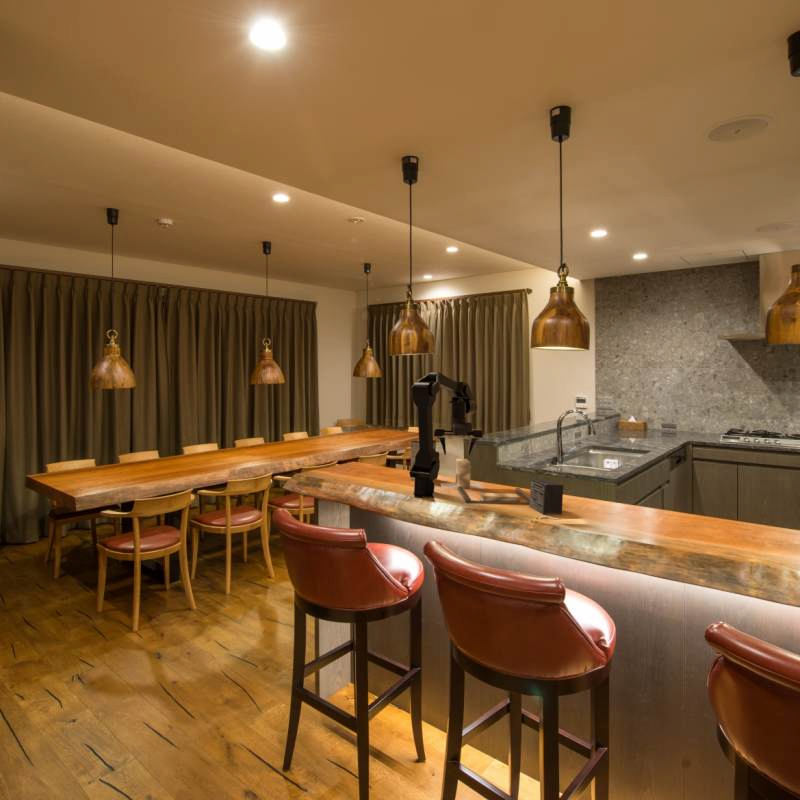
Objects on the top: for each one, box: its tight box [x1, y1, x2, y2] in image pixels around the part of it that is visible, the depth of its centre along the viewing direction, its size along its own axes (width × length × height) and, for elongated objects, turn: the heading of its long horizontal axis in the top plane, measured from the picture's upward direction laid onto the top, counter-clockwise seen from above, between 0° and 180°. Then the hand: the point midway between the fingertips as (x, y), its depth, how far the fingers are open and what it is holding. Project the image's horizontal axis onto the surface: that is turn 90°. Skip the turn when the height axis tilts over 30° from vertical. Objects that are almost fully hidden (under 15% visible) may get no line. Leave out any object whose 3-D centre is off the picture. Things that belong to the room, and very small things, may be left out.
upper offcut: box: [479, 492, 521, 502], centre depth 170 cm, size 12×5×2 cm, turn 94°
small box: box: [529, 477, 564, 518], centre depth 158 cm, size 11×6×10 cm, turn 9°
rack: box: [456, 486, 530, 505], centre depth 176 cm, size 22×21×2 cm
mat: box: [439, 482, 485, 490], centre depth 196 cm, size 16×14×1 cm
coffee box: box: [410, 439, 437, 480], centre depth 213 cm, size 9×6×16 cm
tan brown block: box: [455, 458, 472, 489], centre depth 196 cm, size 4×10×10 cm, turn 1°
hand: (456, 455), depth 200 cm, fingers open, 9 cm apart
